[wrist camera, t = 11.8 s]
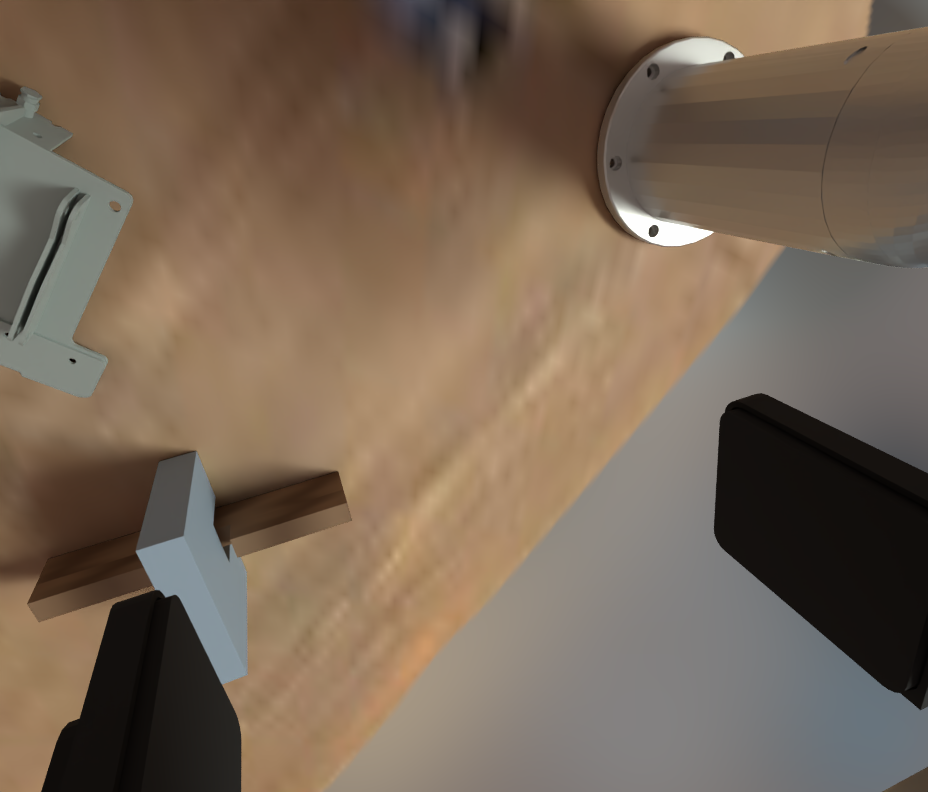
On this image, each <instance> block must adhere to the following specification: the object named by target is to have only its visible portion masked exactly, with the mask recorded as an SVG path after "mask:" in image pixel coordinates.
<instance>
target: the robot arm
mask: <svg viewBox="0 0 928 792" xmlns="http://www.w3.org/2000/svg"><path fill="white" fill-rule="evenodd" d="M610 160H611V165H610ZM597 171H598V177H599V183H600V189H601V192H602V195H603V197H604V200H605V203H606V206H607V207H608V209H609V211H610V212H611V214H612V216H613V218H614V219H615V221H616V222H617V223H618V224H619V225H620V226H621V227H622V228H623V229H624V230H625V231H626V232H627V233H629V234H630V235H632V236H634V237H635V238H637V239H638V240H641V241H644V242H647V243H650V244H654V245H659V246H663V247H679V246H684V245H688V244H692V243H695V242H697V241H699V240H701V239H703V238H705V237H708V236H709V235H710V234H712V233H713V232H716V233H721V234H726V235H731V236H737V237H742V238H747V239H752V240H757V241H762V242H767V243H772V244H777V245H782V246H787V247H792V248H798V249H802V250H807V251H813V252H817V253H822V254H827V255H832V256H838V257H843V258H849V259H854V260H860V261H864V262H869V263H875V264H880V265H885V266H892V267H901V268H924V267H928V27H922V28H916V29H911V30H904V31H898V32H892V33H886V34H880V35H874V36H868V37H862V38H856V39H850V40H844V41H838V42H832V43H826V44H820V45H814V46H808V47H802V48H796V49H790V50H783V51H777V52H771V53H765V54H759V55H753V56H747V57H745V56H744V55H743V54H742V53H741V52H740V51H739V50H738V49H737V48H735V47H733V46H732V45H730V44H728V43H727V42H725V41H723V40H719V39H715V38H711V37H688V38H684V39H679V40H675V41H672V42H670V43H667V44H665V45H662V46H660V47H658V48H656V49H655V50H653V51H652V52H650V53H649V54H647V55H646V56H645V57H643V58H642V59H641V60H640V61H639V62H638V63H637V64H636V65H635V66H634V67H633V68H632V69H631V70H630V71H629V72H628V73H627V75H626V76H625V78H624V79H623V80H622V82H621V83H620V85H619V86H618V88H617V89H616V91H615V93H614V95H613V97H612V99H611V101H610V103H609V105H608V107H607V110H606V113H605V116H604V120H603V123H602V126H601V129H600V136H599V142H598V149H597ZM714 534H715V537H716V539H717V541H718V543H719V545H720V546H721V547H722V548H723V549H724V550H725V551H726V552H727V553H728V554H729V555H731V556H732V557H733V558H734V559H735V560H736V561H737V562H739V563H740V564H741V565H742V566H743V567H745V568H746V569H747V570H748V571H749V572H750V573H752V574H753V575H754V576H755V577H756V578H757V579H759V580H760V581H761V582H762V583H763V584H765V585H766V586H767V587H768V588H769V589H770V590H772V591H773V592H774V593H775V594H776V595H777V596H779V597H780V598H781V599H782V600H783V601H784V602H786V603H787V604H788V605H789V606H790V607H792V608H793V609H794V610H795V611H796V612H797V613H798V614H800V615H801V616H802V617H803V618H804V619H805V620H807V621H808V622H809V623H810V624H811V625H813V626H814V627H815V628H816V629H817V630H818V631H819V632H821V633H822V634H823V635H824V636H825V637H826V638H828V639H829V640H830V641H831V642H832V643H834V644H835V645H836V646H837V647H838V648H839V649H841V650H842V651H843V652H844V653H845V654H846V655H848V656H849V657H850V658H851V659H852V660H854V661H855V662H856V663H857V664H858V665H859V666H861V667H862V668H863V669H864V670H865V671H866V672H868V673H869V674H870V675H871V676H872V677H873V678H874V679H876V680H877V681H878V682H879V683H880V684H882V685H883V686H884V687H886V688H887V689H888V690H891V691H893V692H897V693H901V694H902V695H903V696H904V697H906V698H907V699H908V700H909V701H910V702H912V703H913V704H914V705H915V706H916V707H917V708H919V709H920V710H922V709H924V708H926V707H928V473H926V472H924V471H922V470H920V469H918V468H916V467H913V466H912V465H909V464H908V463H905V462H903V461H901V460H899V459H897V458H895V457H893V456H891V455H889V454H887V453H885V452H883V451H881V450H879V449H876V448H875V447H873V446H871V445H868V444H866V443H864V442H862V441H860V440H858V439H856V438H854V437H852V436H850V435H848V434H846V433H844V432H842V431H840V430H838V429H836V428H834V427H831V426H829V425H827V424H825V423H823V422H821V421H819V420H817V419H815V418H813V417H811V416H809V415H807V414H805V413H803V412H801V411H799V410H797V409H795V408H793V407H791V406H789V405H787V404H784V403H782V402H780V401H778V400H776V399H774V398H772V397H770V396H768V395H765V394H762V393H760V394H754V395H751V396H748V397H745V398H742V399H739V400H736V401H733V402H731V403H730V404H728V405H727V407H726V409H725V413H724V414H723V415H722V416H721V419H720V428H719V447H718V465H717V483H716V502H715V519H714ZM41 792H241V731H240V726H239V721H238V718H237V715H236V713H235V711H234V709H233V707H232V704H231V702H230V700H229V698H228V696H227V694H226V692H225V690H224V688H223V686H222V684H221V682H220V680H219V678H218V676H217V674H216V672H215V670H214V667H213V665H212V663H211V661H210V659H209V657H208V655H207V653H206V651H205V649H204V647H203V645H202V643H201V641H200V639H199V637H198V635H197V633H196V630H195V628H194V626H193V624H192V622H191V620H190V618H189V616H188V614H187V612H186V610H185V608H184V606H183V604H182V602H181V600H180V598H179V597H178V596H177V595H172V596H169V597H166V598H165V596H164V594H163V593H162V592H161V591H160V590H154V591H151V592H148V593H145V594H142V595H139V596H136V597H133V598H130V599H127V600H124V601H121V602H117V603H115V604H114V605H113V606H112V608H111V610H110V614H109V617H108V621H107V624H106V628H105V631H104V635H103V638H102V642H101V645H100V649H99V652H98V656H97V659H96V663H95V666H94V670H93V673H92V677H91V680H90V684H89V688H88V691H87V695H86V698H85V702H84V705H83V709H82V712H81V716H80V719H77V720H75V721H72V722H69V723H68V724H67V725H66V726H65V727H64V728H63V730H62V731H61V733H60V736H59V738H58V740H57V743H56V746H55V749H54V752H53V755H52V759H51V762H50V765H49V768H48V771H47V775H46V778H45V781H44V784H43V788H42V791H41ZM883 792H928V767H927V768H925V769H923V770H921V771H920V772H918V773H916V774H914V775H912V776H910V777H909V778H907V779H905V780H903V781H901V782H899V783H897V784H896V785H894V786H892V787H890V788H888V789H886V790H885V791H883Z"/></svg>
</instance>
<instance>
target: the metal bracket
mask: <svg viewBox="0 0 928 792" xmlns="http://www.w3.org/2000/svg"><path fill="white" fill-rule="evenodd" d="M20 91H21V92H22V93H21V94H20V95H18V98H17V101H14V100H12V99H11V98H9V99H7V98H4V97H2V96H1V93H0V365H2V366H5V367H8V368H10V369H13V370H16V371H18V372H20V373H21V375H22V376H23V377H26V378H28V379H31V380H34V381H36V382H39V383H42V384H45V385H47V386H50V387H53V388H55V389H58V390H61V391H64V392H66V393H69V394H72V395H74V396H77V397H90V396H91V395H92V393H93V391H94V389H95V387H96V385H97V383H98V381H99V379H100V377H101V375H102V373H103V371H104V369H105V367H106V365H107V363H108V359H107V357H106V356H104V355H102V354H100V353H97V352H95V351H92V350H90V349H87V348H85V347H82V346H80V345H78V344H76V343H74V341H73V340H72V337H73V334H74V332H75V330H76V328H77V325H78V323H79V321H80V319H81V317H82V314H83V312H84V310H85V308H86V306H87V303H88V301H89V299H90V297H91V294H92V292H93V290H94V288H95V286H96V283H97V281H98V279H99V277H100V274H101V272H102V270H103V268H104V266H105V263H106V261H107V259H108V257H109V255H110V252H111V250H112V248H113V246H114V243H115V241H116V239H117V237H118V235H119V232H120V230H121V228H122V226H123V224H124V221H125V219H126V217H127V215H128V212H129V210H130V208H131V206H132V204H133V197H132V195H131V194H130V193H128V192H127V191H125V190H123V189H121V188H119V187H118V186H116V185H114V184H112V183H110V182H108V181H106V180H105V179H103V178H101V177H99V176H97V175H95V174H94V173H92V172H90V171H88V170H86V169H84V168H82V167H81V166H79V165H77V164H75V163H73V162H71V161H69V160H68V159H66V158H64V157H62V156H60V155H58V154H56V153H55V152H53V151H52V150H54V149H55V148H57V147H58V146H60V145H61V144H62V143H64V142H65V141H67V140H68V139H70V138H71V137H72V135H73V133H71V132H69V131H68V130H66V129H64V128H62V127H57V126H54V125H53V124H51V123H52V121H50V120H48V119H46V118H44V117H43V116H41V115H39V114H37V113H36V111H38V108H39V105H40V103H38V101H39V100H41V99H42V96H41V95H40V94H39V93H37V92H36V91H35V90H32V89H30V88H27V87H25V86H24V87H22V88H20ZM110 201H115V202H118V203H119V204H120V206H121V210H120V211H115V210H113V209H112V208H111V207H110ZM5 333H9V334H8V336H6V335H5ZM70 358H72V359H75V360H76V362H72V361H70V360H69V359H70Z"/></svg>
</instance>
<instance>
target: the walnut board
mask: <svg viewBox="0 0 928 792" xmlns="http://www.w3.org/2000/svg"><path fill="white" fill-rule="evenodd" d="M349 521H352V518H351V515H350V511H349V508H348V504H347V501H346V497H345V494H344V490H343V487H342V483H341V480H340V476H339V473H338V472H334V473H331V474H328V475H325V476H321V477H318V478H315V479H311V480H308V481H305V482H301V483H298V484H295V485H291V486H288V487H285V488H282V489H278V490H275V491H272V492H268V493H265V494H262V495H258V496H255V497H252V498H249V499H245V500H242V501H239V502H235V503H232V504H229V505H225V506H222V507H219V508H216V509H214V521H213V526H214V528H215V530H216V533H217V535H218V537H219V540H220V542H221V544H222V547H224V546H227V545H230V544H232V546H233V548H234V551H235V553H236V556H237V558H238V557H241V556H244V555H248V554H251V553H254V552H257V551H260V550H263V549H266V548H269V547H272V546H275V545H278V544H281V543H285V542H288V541H291V540H294V539H297V538H300V537H303V536H306V535H309V534H312V533H315V532H318V531H322V530H325V529H328V528H331V527H334V526H337V525H340V524H343V523H346V522H349ZM140 532H141V531H140ZM140 532H136V533H133V534H130V535H126V536H123V537H120V538H116V539H113V540H110V541H107V542H103V543H100V544H97V545H93V546H90V547H87V548H83V549H80V550H77V551H74V552H70V553H67V554H64V555H60V556H57V557H54V558H50V559H48V560H47V563H46V565H45V567H44V569H43V571H42V573H41V575H40V578H39V580H38V582H37V584H36V586H35V588H34V590H33V593H32V595H31V597H30V599H29V601H28V603H27V605H28V606H29V608H30V609H31V611H32V612H33V614H34V615H35V617H36V619H37V620H38V622H41V621H44V620H47V619H50V618H53V617H56V616H60V615H63V614H66V613H69V612H72V611H75V610H78V609H81V608H84V607H87V606H90V605H93V604H97V603H100V602H103V601H106V600H109V599H112V598H115V597H118V596H121V595H124V594H127V593H130V592H134V591H137V590H140V589H143V588H146V587H149V586H152V585H153V584H152V582H151V580H150V578H149V576H148V574H147V573H146V571H145V569H144V567H143V565H142V563H141V561H140V559H139V557H138V555H137V553H136V547H137V543H138V539H139V536H140Z"/></svg>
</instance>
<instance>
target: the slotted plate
mask: <svg viewBox="0 0 928 792" xmlns="http://www.w3.org/2000/svg"><path fill="white" fill-rule="evenodd" d="M214 508H215V495H214V492H213V490H212V487H211V485H210V482H209V480H208V478H207V475H206V473H205V470H204V468H203V466H202V463H201V461H200V458H199V456H198V453H197V451H195V452H191V453H188V454H184V455H181V456H177V457H173V458H170V459H166V460H163V461H159V464H158V467H157V471H156V475H155V479H154V483H153V486H152V490H151V494H150V498H149V502H148V505H147V509H146V513H145V517H144V520H143V524H142V528H141V532H140V536H139V539H138V543H137V547H136V553H137V555H138V557H139V559H140V561H141V563H142V565H143V567H144V569H145V571H146V573H147V574H148V576H149V578H150V580H151V582H152V584H153V586H154V588H155V590H160V591H161V592H162V593H163V594H164V596H165V598H166V597H169V596H172V595H177V596H178V597H179V598H180V600H181V602H182V604H183V606H184V608H185V610H186V612H187V614H188V616H189V618H190V620H191V622H192V624H193V626H194V628H195V630H196V633H197V635H198V637H199V639H200V641H201V643H202V645H203V647H204V649H205V651H206V653H207V655H208V657H209V659H210V661H211V663H212V665H213V667H214V670H215V672H216V674H217V676H218V678H219V680H220V682H221V684H224V683H227V682H230V681H232V680H235V679H238V678H240V677H243V676H246V675H247V572H246V570H245V567H244V565H243V562H242V560H241V557H238V558H237V556H236V553H235V551H234V548H233V546H232V544H230V545H227V546H224V547H222V544H221V542H220V540H219V537H218V535H217V533H216V530H215V528H214V526H213V521H214Z"/></svg>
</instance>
